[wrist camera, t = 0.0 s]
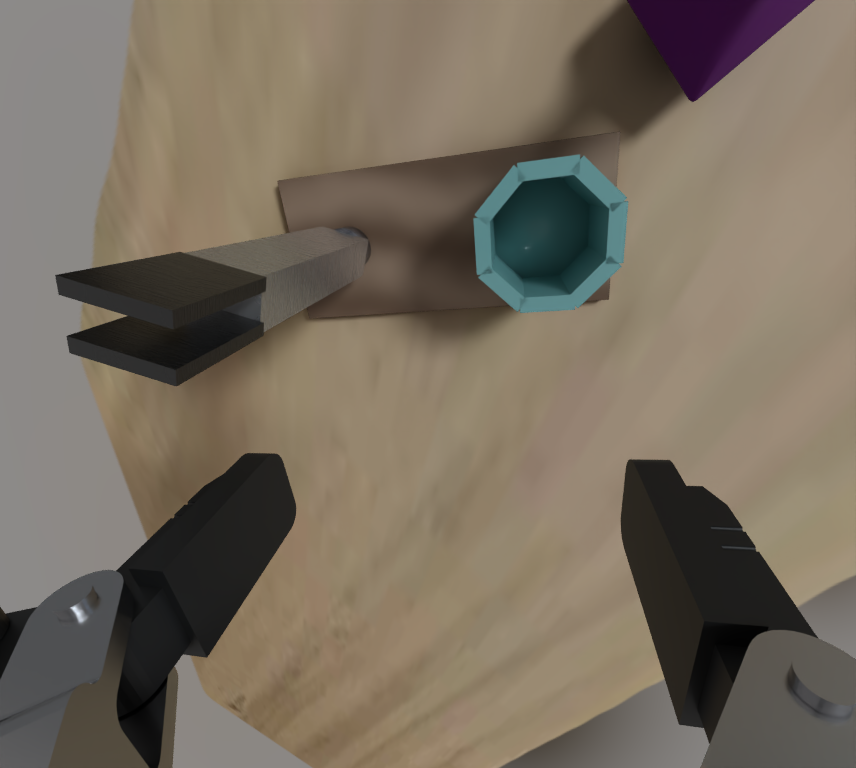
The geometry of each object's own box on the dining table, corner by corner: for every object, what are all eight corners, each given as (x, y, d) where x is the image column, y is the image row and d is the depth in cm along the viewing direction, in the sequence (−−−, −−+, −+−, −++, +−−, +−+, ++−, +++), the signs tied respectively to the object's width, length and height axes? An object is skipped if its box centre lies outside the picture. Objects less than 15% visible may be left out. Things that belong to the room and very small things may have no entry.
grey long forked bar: (330, 220, 35) (53, 266, 14) (378, 234, 35) (171, 302, 14) (325, 262, 37) (70, 359, 16) (371, 275, 37) (176, 393, 15)
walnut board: (283, 180, 36) (277, 180, 35) (617, 133, 30) (620, 131, 29) (314, 315, 41) (309, 318, 40) (606, 296, 35) (608, 299, 34)
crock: (479, 173, 32) (470, 169, 25) (604, 157, 30) (632, 147, 23) (485, 290, 35) (479, 315, 28) (597, 282, 34) (619, 306, 26)
